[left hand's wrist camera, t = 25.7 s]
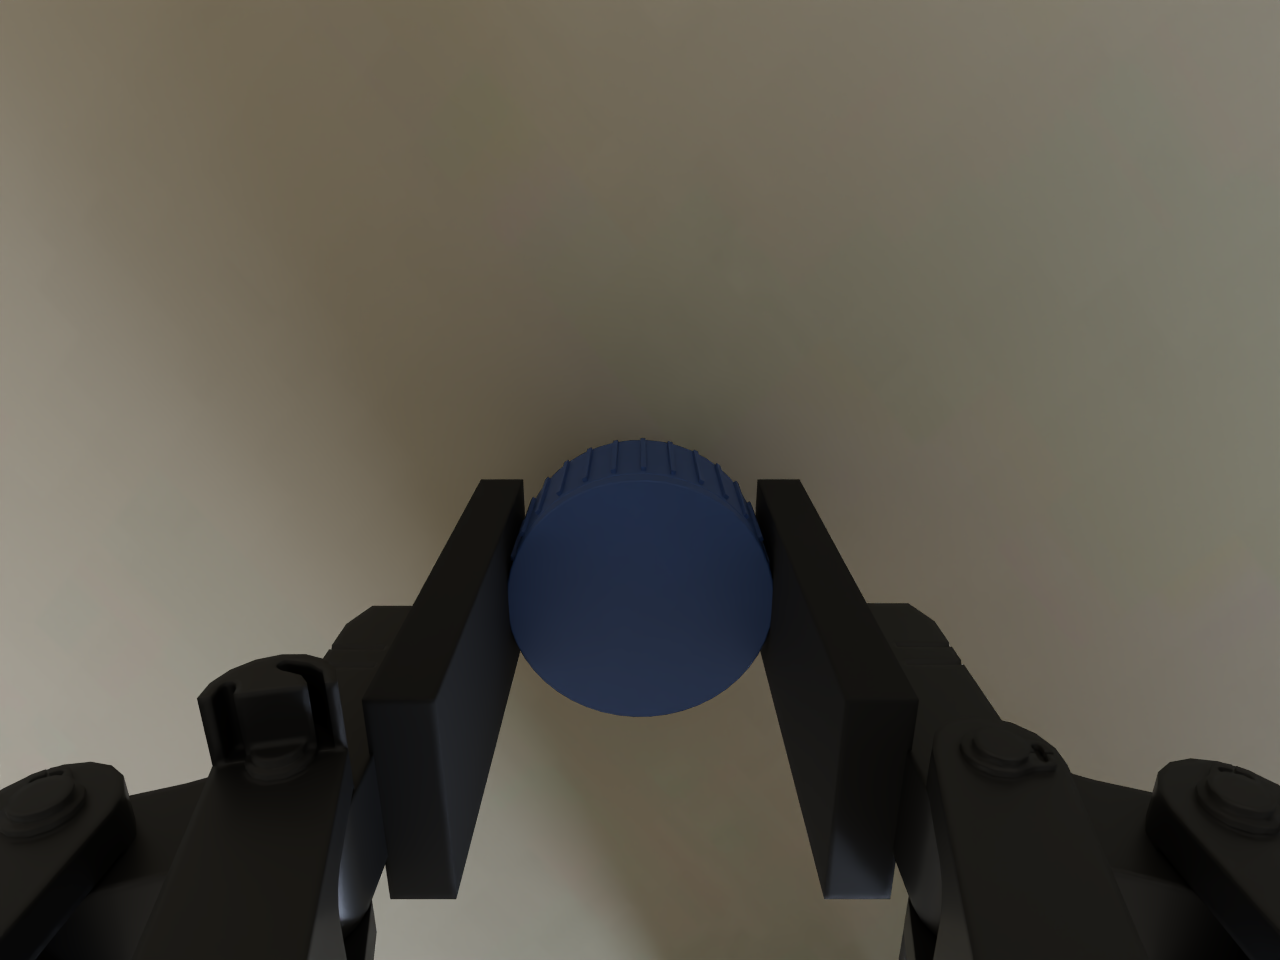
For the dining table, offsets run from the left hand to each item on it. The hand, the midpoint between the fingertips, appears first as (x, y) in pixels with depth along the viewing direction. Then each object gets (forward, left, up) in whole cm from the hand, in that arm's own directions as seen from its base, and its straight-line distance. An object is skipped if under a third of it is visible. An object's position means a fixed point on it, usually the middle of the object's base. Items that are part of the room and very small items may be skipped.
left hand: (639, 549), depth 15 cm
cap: (0, 0, +2) cm, 2 cm away
